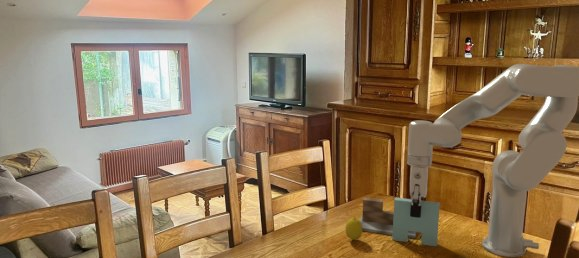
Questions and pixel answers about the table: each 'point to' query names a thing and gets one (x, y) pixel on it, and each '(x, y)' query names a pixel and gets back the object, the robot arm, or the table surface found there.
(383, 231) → the base
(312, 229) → the table surface
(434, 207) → the notched plate
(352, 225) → the lemon
